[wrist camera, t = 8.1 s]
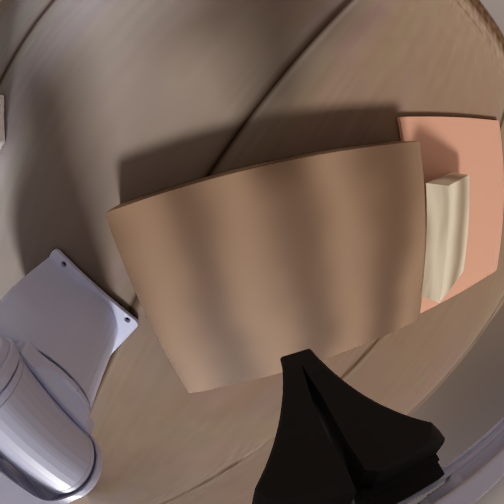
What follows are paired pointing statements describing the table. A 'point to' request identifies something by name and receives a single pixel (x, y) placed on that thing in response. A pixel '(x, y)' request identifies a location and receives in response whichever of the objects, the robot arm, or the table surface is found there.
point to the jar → (2, 122)
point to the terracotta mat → (480, 183)
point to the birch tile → (445, 233)
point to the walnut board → (278, 259)
